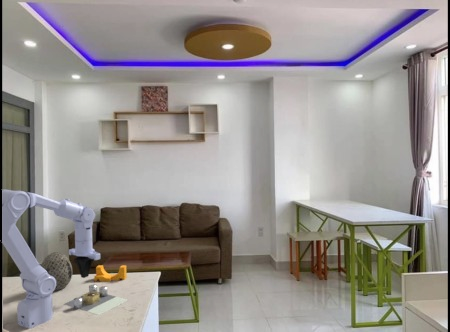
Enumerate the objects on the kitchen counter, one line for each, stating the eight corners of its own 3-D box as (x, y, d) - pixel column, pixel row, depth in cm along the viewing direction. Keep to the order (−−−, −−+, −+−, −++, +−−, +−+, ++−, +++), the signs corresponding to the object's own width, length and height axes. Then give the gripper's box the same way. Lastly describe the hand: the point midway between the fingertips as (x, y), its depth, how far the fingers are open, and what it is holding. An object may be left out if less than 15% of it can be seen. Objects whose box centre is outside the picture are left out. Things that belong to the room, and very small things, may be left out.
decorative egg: (64, 296, 130) (62, 257, 129) (33, 296, 130) (32, 257, 129) (78, 284, 141) (76, 248, 141) (49, 284, 142) (48, 248, 141)
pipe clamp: (94, 284, 142) (94, 268, 142) (99, 280, 146) (98, 265, 146) (123, 284, 141) (122, 268, 141) (126, 280, 145) (126, 265, 145)
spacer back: (92, 295, 127) (92, 287, 127) (87, 294, 128) (87, 286, 128) (98, 292, 130) (98, 285, 129) (93, 291, 131) (93, 283, 131)
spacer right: (103, 297, 125) (102, 289, 125) (97, 296, 126) (97, 288, 126) (109, 294, 128) (108, 287, 127) (103, 293, 129) (103, 285, 129)
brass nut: (89, 305, 118) (89, 298, 118) (79, 303, 121) (79, 295, 121) (102, 299, 124) (102, 292, 123) (93, 296, 126) (92, 290, 126)
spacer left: (77, 310, 116) (77, 301, 115) (71, 308, 117) (71, 299, 117) (84, 306, 118) (84, 298, 118) (78, 305, 119) (78, 296, 119)
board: (99, 318, 112) (99, 315, 112) (63, 306, 120) (63, 304, 120) (128, 302, 123) (128, 299, 123) (93, 293, 132) (93, 290, 132)
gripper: (106, 239, 123) (107, 276, 123) (79, 234, 130) (80, 270, 130) (90, 243, 117) (91, 283, 117) (63, 239, 124) (64, 276, 124)
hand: (84, 276), depth 123 cm, fingers closed
